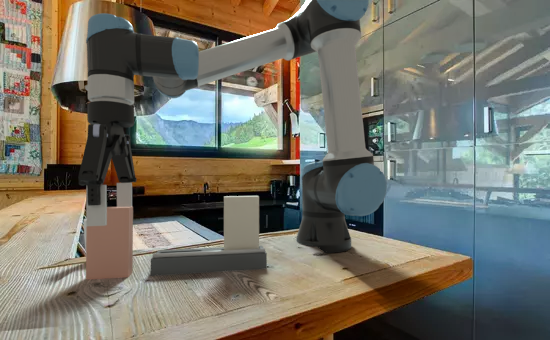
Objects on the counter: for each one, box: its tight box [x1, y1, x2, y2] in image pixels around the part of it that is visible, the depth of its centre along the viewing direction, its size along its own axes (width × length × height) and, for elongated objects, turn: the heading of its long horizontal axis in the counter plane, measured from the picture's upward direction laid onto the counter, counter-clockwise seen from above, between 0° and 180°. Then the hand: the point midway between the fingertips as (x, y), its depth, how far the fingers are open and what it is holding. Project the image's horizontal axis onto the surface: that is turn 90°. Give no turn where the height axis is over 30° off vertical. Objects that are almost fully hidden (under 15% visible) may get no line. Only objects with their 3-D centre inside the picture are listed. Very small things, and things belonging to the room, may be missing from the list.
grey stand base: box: [150, 245, 268, 277], centre depth 58 cm, size 22×6×5 cm, turn 100°
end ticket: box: [85, 205, 134, 280], centre depth 53 cm, size 7×2×14 cm, turn 100°
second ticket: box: [223, 195, 260, 250], centre depth 60 cm, size 7×2×14 cm, turn 100°
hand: (112, 219), depth 54 cm, fingers open, 13 cm apart
